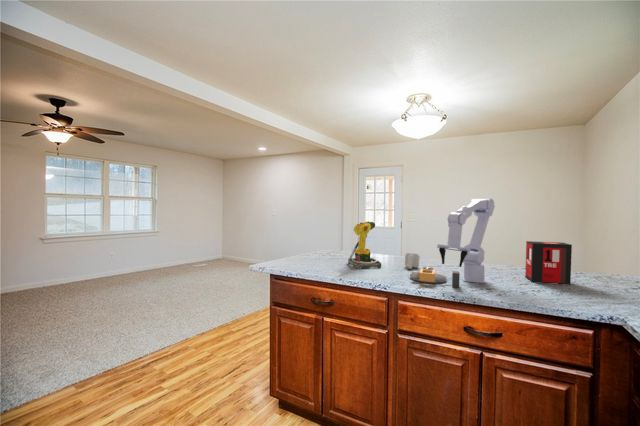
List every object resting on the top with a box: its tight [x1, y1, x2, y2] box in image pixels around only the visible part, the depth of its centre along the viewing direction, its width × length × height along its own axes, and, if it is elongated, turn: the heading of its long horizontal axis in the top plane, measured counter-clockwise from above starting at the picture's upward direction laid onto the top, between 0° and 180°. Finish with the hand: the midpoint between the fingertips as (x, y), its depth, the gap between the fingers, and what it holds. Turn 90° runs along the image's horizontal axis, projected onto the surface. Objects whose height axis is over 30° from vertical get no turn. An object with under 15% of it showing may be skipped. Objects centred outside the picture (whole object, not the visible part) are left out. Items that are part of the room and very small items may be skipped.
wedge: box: [451, 270, 461, 289], centre depth 144 cm, size 3×4×7 cm, turn 157°
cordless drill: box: [347, 221, 382, 270], centre depth 192 cm, size 18×19×28 cm
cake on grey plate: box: [409, 266, 447, 285], centre depth 159 cm, size 18×18×6 cm
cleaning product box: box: [524, 240, 573, 286], centre depth 155 cm, size 16×9×20 cm, turn 73°
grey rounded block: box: [404, 252, 420, 270], centre depth 185 cm, size 8×10×10 cm
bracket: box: [411, 268, 436, 282], centre depth 153 cm, size 11×9×4 cm
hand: (451, 265), depth 145 cm, fingers open, 7 cm apart
